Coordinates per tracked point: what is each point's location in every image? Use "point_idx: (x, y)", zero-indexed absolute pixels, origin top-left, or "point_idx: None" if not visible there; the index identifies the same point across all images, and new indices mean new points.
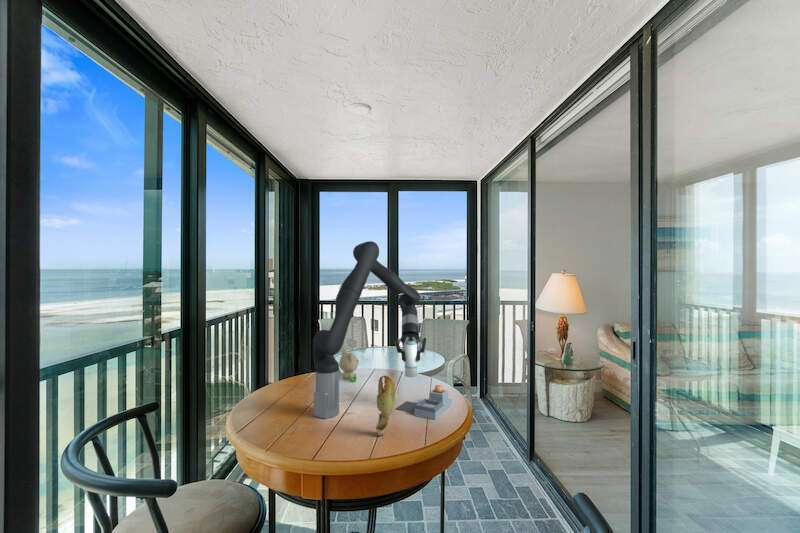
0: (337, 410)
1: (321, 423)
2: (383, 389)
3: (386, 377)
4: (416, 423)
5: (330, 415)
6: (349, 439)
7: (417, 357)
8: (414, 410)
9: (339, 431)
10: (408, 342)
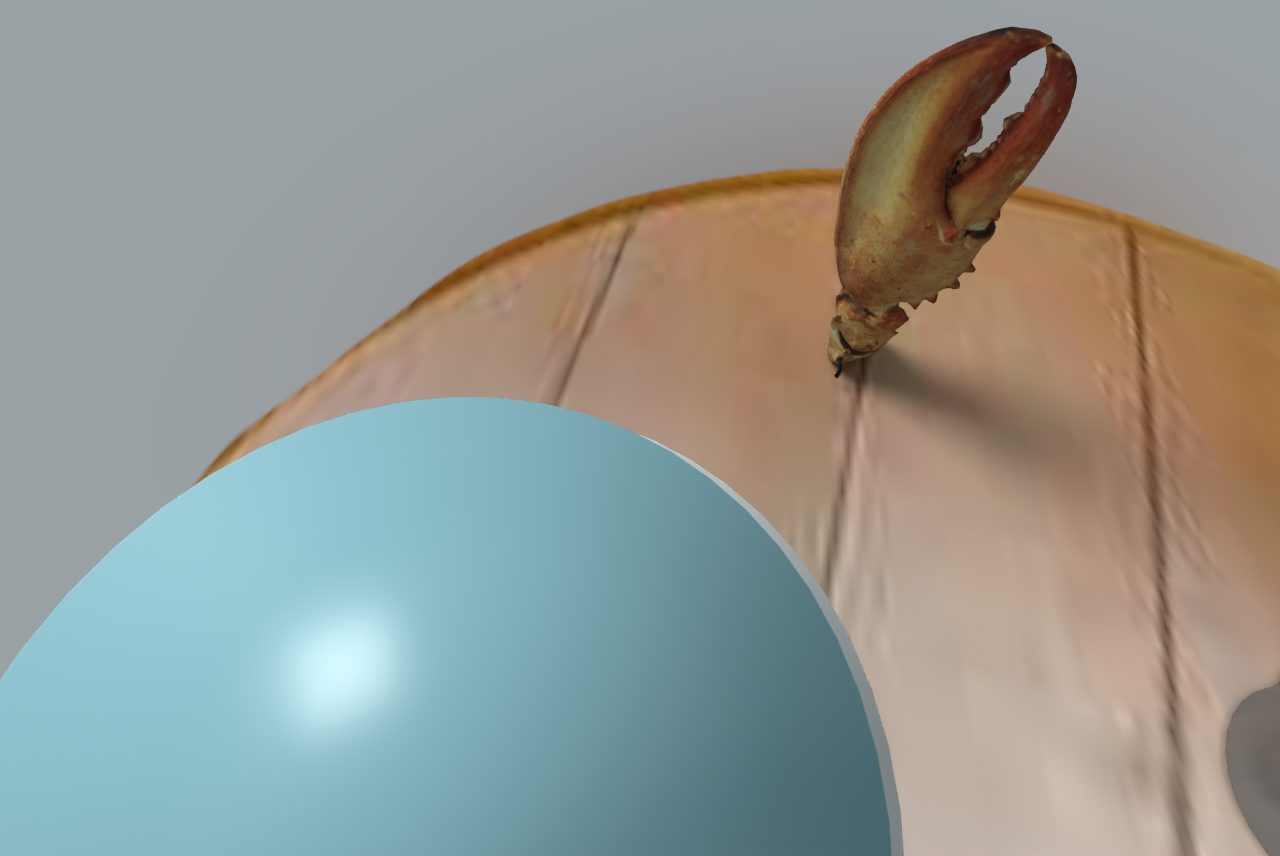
0: (1260, 737)
1: (1276, 597)
2: (970, 155)
3: (1007, 33)
4: None
5: (1275, 688)
6: (1016, 348)
7: None
8: None
9: (1103, 450)
10: (707, 495)
